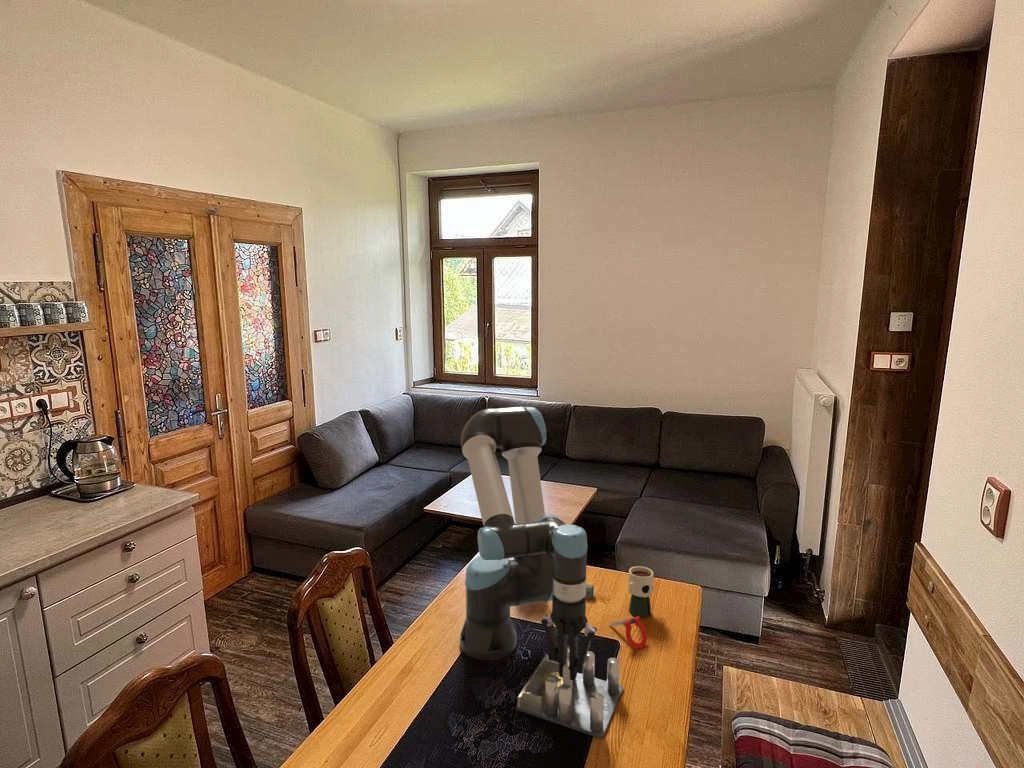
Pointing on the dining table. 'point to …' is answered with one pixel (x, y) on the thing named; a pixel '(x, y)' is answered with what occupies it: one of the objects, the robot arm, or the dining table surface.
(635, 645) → the tow hook
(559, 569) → the robot arm
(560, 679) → the nut
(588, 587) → the medication box
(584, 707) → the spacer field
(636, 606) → the character mug
